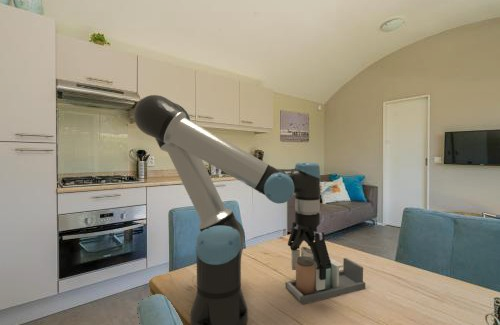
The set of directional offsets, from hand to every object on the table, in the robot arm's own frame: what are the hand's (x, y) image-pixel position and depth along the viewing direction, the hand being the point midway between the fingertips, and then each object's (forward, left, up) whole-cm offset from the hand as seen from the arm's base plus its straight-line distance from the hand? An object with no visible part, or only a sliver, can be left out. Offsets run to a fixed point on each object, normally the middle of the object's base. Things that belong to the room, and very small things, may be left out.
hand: (307, 278), depth 80 cm
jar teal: (+5, 0, -4) cm, 7 cm away
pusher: (+10, 0, -4) cm, 10 cm away
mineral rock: (+13, +18, -5) cm, 23 cm away
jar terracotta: (-1, 0, -4) cm, 4 cm away
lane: (+7, 0, -4) cm, 8 cm away
